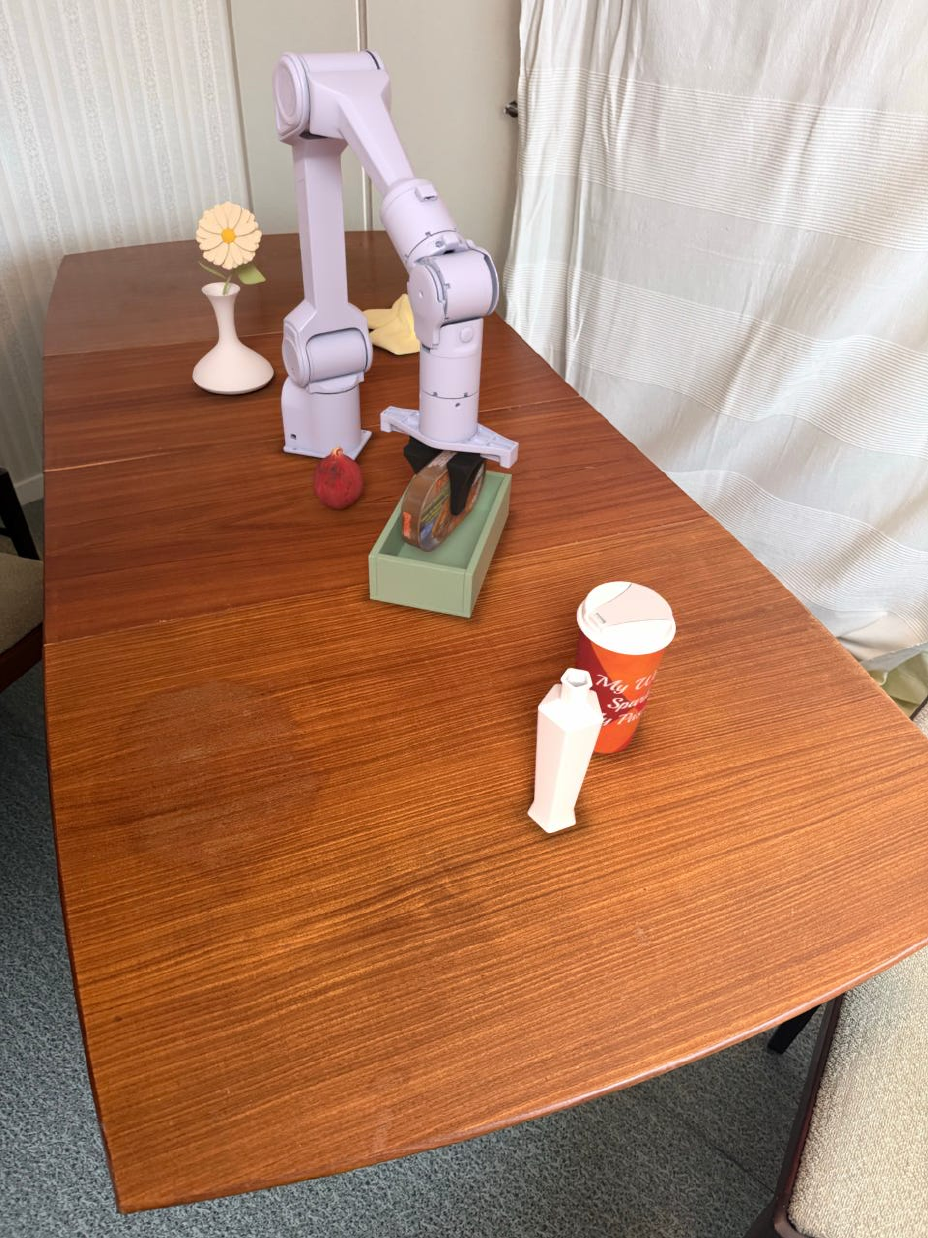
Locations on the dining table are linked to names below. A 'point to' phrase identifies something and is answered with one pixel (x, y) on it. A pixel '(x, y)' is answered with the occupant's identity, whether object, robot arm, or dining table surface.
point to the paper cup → (622, 654)
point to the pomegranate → (338, 480)
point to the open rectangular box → (442, 557)
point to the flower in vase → (230, 301)
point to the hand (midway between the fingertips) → (445, 506)
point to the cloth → (393, 327)
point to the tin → (434, 504)
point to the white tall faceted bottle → (564, 748)
